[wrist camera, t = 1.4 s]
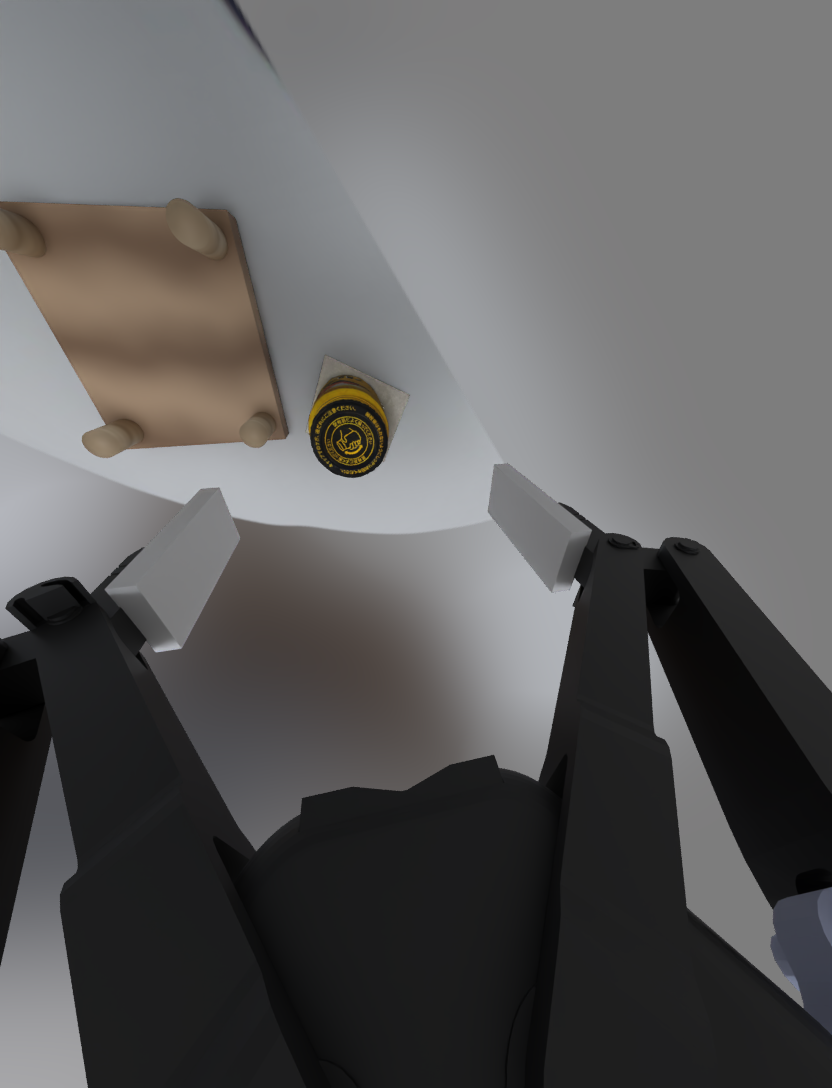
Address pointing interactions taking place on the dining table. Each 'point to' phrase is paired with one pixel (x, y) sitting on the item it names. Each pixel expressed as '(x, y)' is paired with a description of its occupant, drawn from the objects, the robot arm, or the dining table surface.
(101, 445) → the peg holder
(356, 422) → the condiment
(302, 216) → the dining table surface
